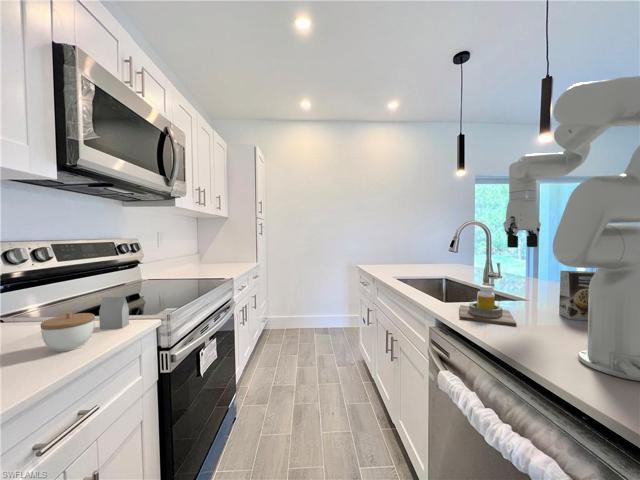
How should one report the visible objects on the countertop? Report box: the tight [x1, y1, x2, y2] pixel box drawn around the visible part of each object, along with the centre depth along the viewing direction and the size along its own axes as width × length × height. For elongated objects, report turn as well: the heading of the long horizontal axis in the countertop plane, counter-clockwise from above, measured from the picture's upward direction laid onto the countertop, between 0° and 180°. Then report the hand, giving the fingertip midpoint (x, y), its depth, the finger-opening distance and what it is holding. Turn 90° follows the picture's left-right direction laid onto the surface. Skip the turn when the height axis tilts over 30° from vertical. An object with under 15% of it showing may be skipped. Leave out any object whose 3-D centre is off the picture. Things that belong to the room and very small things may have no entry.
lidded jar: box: [40, 311, 96, 353], centre depth 73 cm, size 11×11×9 cm
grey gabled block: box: [98, 296, 130, 330], centre depth 89 cm, size 4×7×10 cm, turn 97°
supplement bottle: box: [476, 284, 496, 309], centre depth 97 cm, size 5×5×10 cm
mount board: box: [459, 302, 517, 327], centre depth 97 cm, size 16×16×4 cm
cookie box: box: [558, 270, 596, 321], centre depth 94 cm, size 9×6×16 cm
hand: (522, 247), depth 93 cm, fingers open, 9 cm apart
